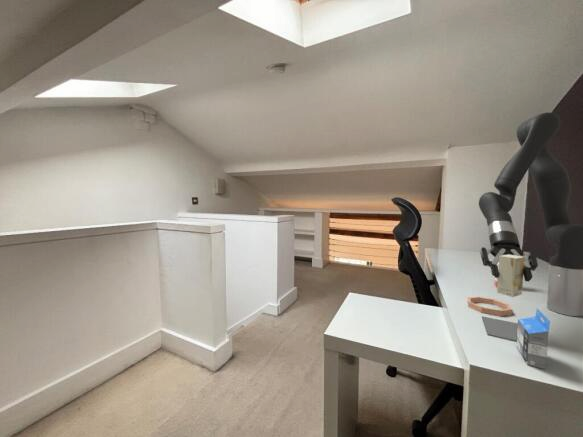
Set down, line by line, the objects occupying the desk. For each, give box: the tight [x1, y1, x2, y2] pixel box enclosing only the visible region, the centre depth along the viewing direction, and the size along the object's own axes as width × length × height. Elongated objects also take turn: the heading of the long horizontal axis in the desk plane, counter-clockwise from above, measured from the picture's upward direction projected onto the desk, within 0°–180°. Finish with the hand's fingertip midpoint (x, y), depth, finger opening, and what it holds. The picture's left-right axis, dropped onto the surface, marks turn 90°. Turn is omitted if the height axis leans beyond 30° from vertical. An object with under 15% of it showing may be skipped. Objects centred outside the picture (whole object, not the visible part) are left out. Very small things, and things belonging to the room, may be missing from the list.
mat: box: [481, 315, 518, 343], centre depth 77 cm, size 12×14×1 cm
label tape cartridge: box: [516, 308, 551, 370], centre depth 63 cm, size 9×4×12 cm, turn 150°
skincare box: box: [496, 254, 525, 298], centre depth 76 cm, size 6×4×12 cm
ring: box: [466, 296, 513, 317], centre depth 94 cm, size 13×13×2 cm
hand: (512, 278), depth 75 cm, fingers closed on skincare box, 7 cm apart
